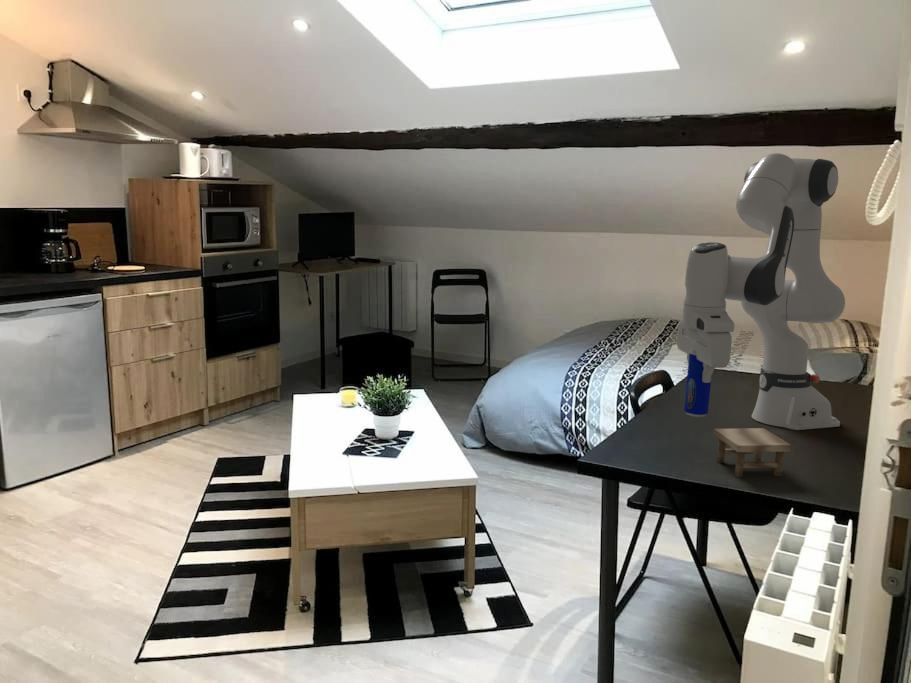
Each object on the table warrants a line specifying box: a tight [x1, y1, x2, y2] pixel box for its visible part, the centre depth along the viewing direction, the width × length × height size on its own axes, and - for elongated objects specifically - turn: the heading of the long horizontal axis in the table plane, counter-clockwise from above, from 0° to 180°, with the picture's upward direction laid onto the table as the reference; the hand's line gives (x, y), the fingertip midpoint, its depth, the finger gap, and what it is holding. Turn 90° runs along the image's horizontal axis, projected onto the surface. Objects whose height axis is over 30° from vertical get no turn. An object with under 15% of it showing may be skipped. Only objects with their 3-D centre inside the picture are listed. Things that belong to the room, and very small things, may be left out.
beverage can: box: [683, 348, 713, 418], centre depth 166 cm, size 5×5×15 cm
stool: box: [713, 427, 792, 478], centre depth 167 cm, size 12×12×8 cm
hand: (699, 378), depth 166 cm, fingers closed on beverage can, 5 cm apart
